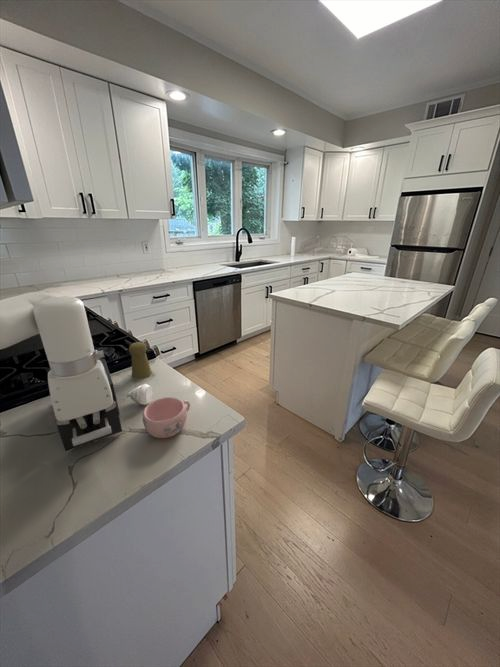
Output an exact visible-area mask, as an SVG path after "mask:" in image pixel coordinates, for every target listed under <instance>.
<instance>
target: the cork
mask: <svg viewBox="0 0 500 667" xmlns="http://www.w3.org/2000/svg"><path fill="white" fill-rule="evenodd" d="M147 351H148V348H147V344H146V343H144V342H142V341H137V342H132V343H131V344H130V345H129V347H128V352H129V354H130V355H131V377H132V378H133V379H134V380H144V379H147V378H149V377H151V376H152V369H151V365H150V363H149V359H148V356H147Z"/></svg>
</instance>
